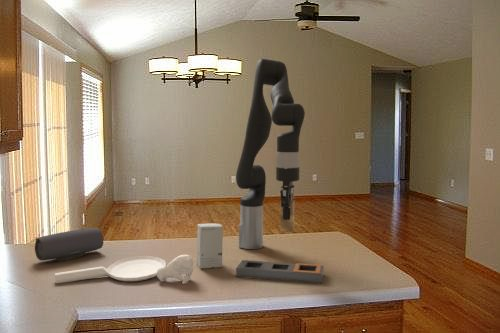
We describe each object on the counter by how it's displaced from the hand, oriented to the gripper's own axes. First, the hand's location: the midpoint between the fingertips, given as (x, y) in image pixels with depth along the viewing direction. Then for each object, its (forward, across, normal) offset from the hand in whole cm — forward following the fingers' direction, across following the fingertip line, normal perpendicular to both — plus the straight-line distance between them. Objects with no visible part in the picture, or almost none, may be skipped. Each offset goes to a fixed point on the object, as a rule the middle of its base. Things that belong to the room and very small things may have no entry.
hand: (287, 218), depth 154 cm
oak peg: (+4, 0, 0) cm, 4 cm away
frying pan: (+20, +14, -56) cm, 61 cm away
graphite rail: (+20, -1, -2) cm, 20 cm away
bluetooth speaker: (+19, -2, -83) cm, 85 cm away
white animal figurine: (+20, +13, -34) cm, 42 cm away
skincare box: (+20, -5, -29) cm, 35 cm away
